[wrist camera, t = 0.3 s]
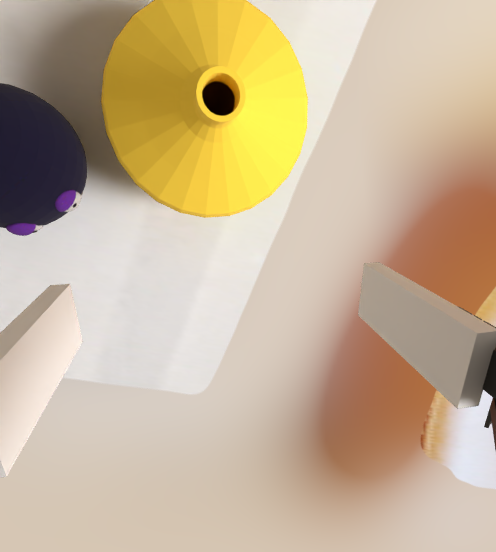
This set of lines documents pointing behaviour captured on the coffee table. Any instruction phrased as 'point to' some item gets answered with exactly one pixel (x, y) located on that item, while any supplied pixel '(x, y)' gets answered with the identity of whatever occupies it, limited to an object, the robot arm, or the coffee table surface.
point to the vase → (204, 104)
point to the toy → (36, 162)
